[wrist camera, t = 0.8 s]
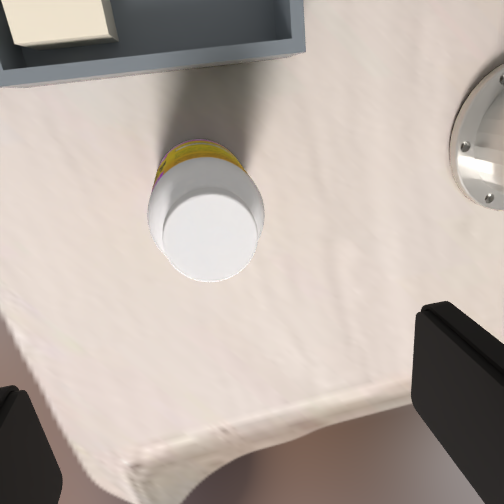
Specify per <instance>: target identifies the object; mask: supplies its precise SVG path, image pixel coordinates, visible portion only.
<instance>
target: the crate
mask: <svg viewBox="0 0 504 504" xmlns="http://www.w3.org/2000/svg"><path fill="white" fill-rule="evenodd" d="M110 3H111V7H112V12H113V17H114V21H115V26H116V31H117V35H118V40H119V42H113V43H104V44H94V45H85V46H75V47H66V48H57V49H47V50H35V49H32V48H28V47H24V46H20V45H17V44H14V40H13V37H12V34H11V31H10V27H9V24H8V21H7V18H6V14H5V11H4V8H3V5H2V1H1V0H0V88H28V87H36V86H45V85H54V84H62V83H71V82H80V81H88V80H97V79H106V78H114V77H123V76H132V75H141V74H149V73H158V72H167V71H175V70H184V69H193V68H201V67H210V66H219V65H227V64H236V63H245V62H253V61H262V60H271V59H279V58H287V57H290V56H294V55H297V54H300V53H304V52H306V46H305V26H304V7H303V0H110Z"/></svg>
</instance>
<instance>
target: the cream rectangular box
mask: <svg viewBox="0 0 504 504" xmlns="http://www.w3.org/2000/svg"><path fill="white" fill-rule="evenodd" d="M1 1H2V5H3V8H4V11H5V14H6V18H7V21H8V24H9V27H10V31H11V34H12V37H13V40H14V44H17V45H20V46H24V47H28V48H32V49H35V50H47V49H57V48H66V47H75V46H85V45H94V44H104V43H113V42H119V40H118V35H117V31H116V26H115V21H114V17H113V12H112V7H111V3H110V0H1Z"/></svg>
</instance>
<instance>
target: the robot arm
mask: <svg viewBox="0 0 504 504" xmlns="http://www.w3.org/2000/svg"><path fill="white" fill-rule="evenodd" d="M449 152H450V166H451V170H452V174H453V177H454V179H455V181H456V183H457V185H458V187H459V189H460V190H461V191H462V192H463V194H464V195H465V196H466V197H467V198H469V199H470V200H471V201H473V202H474V203H476V204H478V205H481V206H483V207H486V208H489V209H493V210H496V211H504V63H503V64H502V65H500V66H498V67H496V68H495V69H494V70H493V71H492V72H490V73H489V74H488V75H487V76H485V77H484V78H483V79H482V80H481V81H480V83H479V84H478V85H477V86H476V87H475V88H474V89H473V90H472V92H471V93H470V95H469V96H468V98H467V99H466V101H465V102H464V104H463V106H462V108H461V110H460V112H459V114H458V116H457V118H456V121H455V124H454V128H453V131H452V135H451V141H450V149H449ZM411 399H412V403H413V405H414V407H415V409H416V411H417V412H418V414H419V415H420V416H421V418H422V419H423V420H424V422H425V423H426V424H427V426H428V427H429V428H430V430H431V431H432V433H433V434H434V435H435V437H436V438H437V439H438V441H439V442H440V443H441V445H442V446H443V447H444V449H445V450H446V451H447V453H448V454H449V455H450V457H451V458H452V460H453V461H454V462H455V464H456V465H457V466H458V468H459V469H460V470H461V472H462V473H463V474H464V475H465V477H466V478H467V480H468V481H469V482H470V484H471V485H472V487H473V488H474V489H475V491H476V492H477V493H478V495H479V496H480V497H481V499H482V500H483V502H484V503H485V504H504V344H503V343H501V342H500V341H499V340H498V339H496V338H495V337H494V336H492V335H491V334H490V333H489V332H487V331H486V330H485V329H484V328H482V327H481V326H480V325H478V324H477V323H476V322H475V321H473V320H472V319H471V318H470V317H468V316H467V315H466V314H464V313H463V312H462V311H461V310H459V309H458V308H457V307H456V306H454V305H453V304H452V303H450V302H448V301H443V302H438V303H433V304H428V305H424V306H423V307H422V309H421V312H418V313H417V315H416V320H415V337H414V354H413V370H412V387H411ZM61 490H62V474H61V471H60V468H59V466H58V464H57V461H56V459H55V457H54V454H53V452H52V450H51V447H50V445H49V443H48V440H47V438H46V435H45V433H44V431H43V428H42V426H41V424H40V422H39V419H38V417H37V414H36V412H35V410H34V407H33V405H32V403H31V400H30V398H29V396H28V394H27V392H26V391H25V390H20V391H19V389H18V388H17V387H16V386H13V385H11V386H6V387H1V388H0V504H58V501H59V498H60V494H61Z"/></svg>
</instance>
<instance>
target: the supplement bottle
mask: <svg viewBox="0 0 504 504" xmlns="http://www.w3.org/2000/svg"><path fill="white" fill-rule="evenodd" d="M148 225H149V230H150V233H151V236H152V238H153V240H154V242H155V244H156V245H157V247H158V248H159V249H160V251H161V252H162V253H163V254H164V255H165V256H166V257H167V258H168V260H169V261H170V263H171V264H172V265H173V267H174V268H175V269H176V270H178V271H179V272H180V273H181V274H183V275H185V276H186V277H189V278H191V279H193V280H197V281H202V282H217V281H222V280H226V279H228V278H231V277H232V276H234V275H236V274H238V273H239V272H240V271H242V270H243V269H244V268H245V267H246V266H247V265H248V263H249V262H250V261H251V259H252V257H253V255H254V253H255V251H256V248H257V242H258V240H259V238H260V235H261V233H262V229H263V225H264V205H263V200H262V197H261V194H260V192H259V190H258V188H257V186H256V185H255V183H254V182H253V180H252V179H251V178H250V176H249V175H248V174H247V172H246V171H245V170H244V168H243V167H242V165H241V164H240V163H239V161H238V160H237V159H236V157H235V156H234V155H233V154H232V153H231V152H230V151H229V150H228V149H227V148H225V147H224V146H222V145H221V144H219V143H217V142H214V141H211V140H206V139H193V140H188V141H185V142H182V143H180V144H178V145H176V146H175V147H173V148H172V149H171V150H170V151H169V152H168V153H167V154H166V155H165V156H164V158H163V159H162V161H161V163H160V165H159V167H158V170H157V173H156V177H155V181H154V185H153V189H152V193H151V196H150V200H149V205H148Z"/></svg>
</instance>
